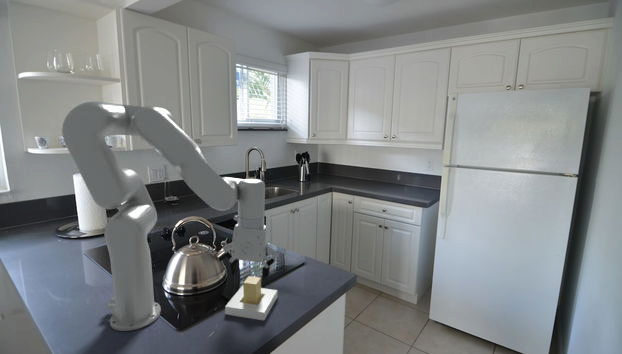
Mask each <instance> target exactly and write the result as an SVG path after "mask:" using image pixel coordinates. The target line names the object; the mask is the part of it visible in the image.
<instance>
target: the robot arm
mask: <svg viewBox="0 0 622 354" xmlns="http://www.w3.org/2000/svg"><path fill="white" fill-rule="evenodd" d="M61 133H62V139H63V142H64V144H65V146H66V149H67V151H68V152H69V155H70V156H71V157H72V160H73V161H74V163H75V165H76V167H77V169H78V171H79V173H80V176H81V178H82V180H83V182H84V184H85V186H86V188H87V190H88V192H89V194H90V196H91V197H92V200H93V202H94V203H95V204H96V205H97V206H98V207H100V208H102V209H105V210H113V209H117V210H118V212H116V213H115V214H114V215H112V217H111V218H110V219H108V222H107V223H106V225H105V226H104V227H105V228H104V240H105V243H106V246H107V251H108V254H109V259H110V261H109V262H110V268H111V269H110V270H111V275H112V276H111V278H112V287H113V288H112V289H113V295H114V296H112V297H111V298H110V299H109V301H108V304H106V306H105V309H106V310H112V315H111V317H110V319H109V326H110V327H111V328H112V329H113V330H115V331H118V332H119V331H120V332H130V331H134V330H139V329H142V328H144V327H146V326H148V325H150V324H152V323H153V322H155V321H156V320H157V319H158V318H159V316H160V314H161V311H162V309H161V305H160V304H159V303H158V302H156V301H155V296H154V293H155V292H154V281H153V270H152V269H153V268H152V267H153V266H152V257H151V255H152V254H151V250H150V246H149V243H148V234H149V233H150V231H151V230H152V229H153V228H154V227H155V225H156V223H157V221H158V214H157V209H156V207H155V205H154V202H153V200H152V198H151V196H150V194H149V192H148V189H147V187H146V185H145V182H144V181H143V179H142V177H141V176H140V175H139V174H138V173H137V172H136V171H135V170H133V169H130V168H126V167H121V166H120V164H119V162H118V160H117V157H116V155H115V153H114V151H113V150H112V148H111V147H110V146H109V145H108V143H107V142H106V137H108V136H109V137H110V136H133V137H134V136H135V137H141V139H142V140H144V141H145V142H146V143H147V144H148V145H149V146H151V148H152V149H153V150H155V151H156V152H157V153H158V154H159V155H160V156H161V157H163V159H164V160H165V161H167V162H168V163H169V164H170V165H171V166H172V167H173V168H174V169H175V171H176V172H177V174H178V175H179V176H180V178H181V179H182V181H184V182H185V184H186V185H187V186H188V187H189V189H190V190H191V191H192V192H193V193H194V194H196V195H197V196H198V197H199V198H200V199H201V200H202V201H203V202H205V204H207V205H208V206H209V207H210V208H212V209H214V210H217V211H221V212H223V211H224V212H225V211H228V210H230V209H232V208H233V207H234V206H235V204H236V203H237V215H234V216H233V220H234V221H236V222H237V223H236V224H235V226H234V228H233V234H232V239H231V240H232V241H231V242H229V243H227V244H224V245H223V246H222V250H223V252H224V254H225V257H226V258H227V259H228V261H229V263H230V271H231V276H235V275H236V274H237V273H238V272H239V261H245V262H252V263H261V264H262V266H263V267H262V268H261V269H262V273H261V274H262V275H261V281H264V282H265V281H266V279H268V277H269V276H270V266H272V265H273V264H274V263H275V261H276V260H277V259H278V256H279V255H280V253H279V252H278V251H276V250H275V249H274V248H272V247H270V246H269V236H268V229H267V226H266V225H265V209H266V208H265V206H266V205H265V203H266V184H265V182H264V181H263V180H261V179H259V178H244V179H243V178H236V177H229V176H220V175H219V174H218V173H217V171H216V170H214V168H213V167H212V166H211V165H210V164H209V163H208V162H207V160H206V158H205V157H204V155H203V152H202V149H201V148H200V146H199V145H198V144H197V143H196V142H195V141H194V140H193V139H192V138H191V137H190V136H189V135H188V134H187V133H186V132H184V131H183V129H182V128H180V126H178V125H177V124H176V121H175V119H174V116H173V115H172V114H171V112H170V111H168V110H167V109H166V108H163V107H159V106H151V105H147V106H140V105H139V106H138V105H129V104H121V103H120V104H119V103H110V102H103V101H86V102H83V103H80V104H78V105H76V106H74V107H73V109H71V110H70V111H69V112H68V114H66V116H65V118H64V119H63V122H62V130H61ZM230 249H231V250H230ZM269 255H270V256H271V258H269Z"/></svg>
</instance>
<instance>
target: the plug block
mask: <svg viewBox="0 0 622 354" xmlns="http://www.w3.org/2000/svg"><path fill="white" fill-rule="evenodd" d="M242 285H243V289H244V303H248V304H255V305H259V303H260V301H261V288H262V277H259V276H250V275H248V276H247V277H246V279H245V280H244V281H243V284H242Z"/></svg>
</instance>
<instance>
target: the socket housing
mask: <svg viewBox="0 0 622 354" xmlns="http://www.w3.org/2000/svg"><path fill="white" fill-rule="evenodd" d="M277 299H278V289H270V288H263V287H261V301H260V303H259V305H255V304H248V303H244V289H243V284H242V285H241V286H240V288H239V289H238V291H236V293H235V294H234V295H233V296H232V297H231V299H230V300H229V301H228V302H227V304H226V305H225V308H224V312H225V313H224V315H229V316H233V317H234V316H235V317H241V318H247V319H252V320H257V321H258V320H259V321H265V320H266V318H267V317H268V314H270V311H271V310H272V308H273V306H274V304H275V303H276V301H277Z"/></svg>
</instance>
